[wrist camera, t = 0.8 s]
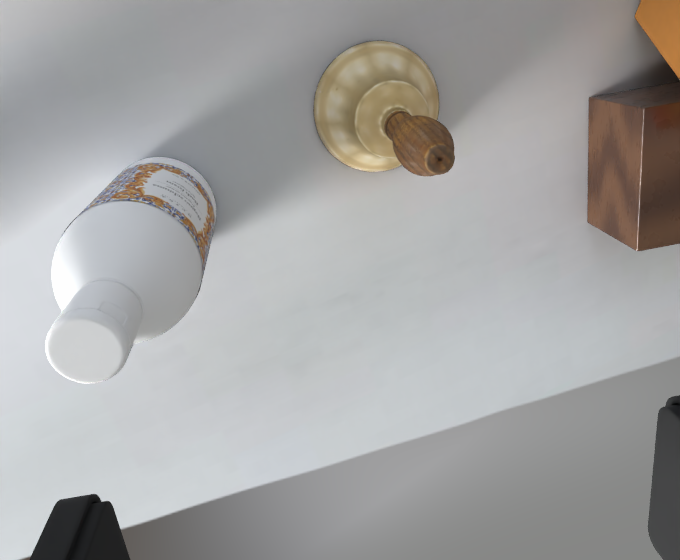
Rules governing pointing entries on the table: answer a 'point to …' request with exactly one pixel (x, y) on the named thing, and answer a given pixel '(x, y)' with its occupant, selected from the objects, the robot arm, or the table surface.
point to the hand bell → (382, 111)
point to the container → (662, 28)
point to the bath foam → (129, 266)
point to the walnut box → (636, 165)
